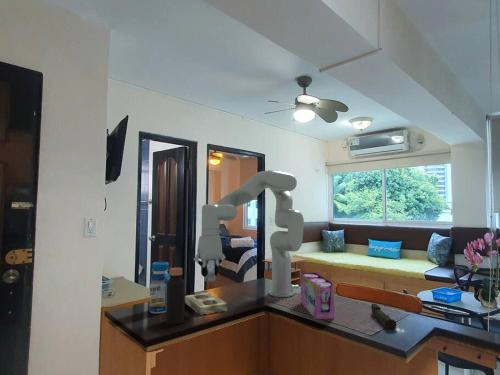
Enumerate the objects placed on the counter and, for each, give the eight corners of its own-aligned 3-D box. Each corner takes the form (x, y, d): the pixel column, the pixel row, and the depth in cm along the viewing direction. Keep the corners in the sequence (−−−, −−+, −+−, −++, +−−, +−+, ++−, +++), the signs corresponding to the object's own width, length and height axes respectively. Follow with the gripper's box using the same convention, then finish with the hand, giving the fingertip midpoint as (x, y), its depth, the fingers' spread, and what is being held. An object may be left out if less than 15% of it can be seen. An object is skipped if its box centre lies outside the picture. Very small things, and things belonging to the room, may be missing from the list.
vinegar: (164, 320, 123) (165, 267, 124) (182, 317, 126) (182, 266, 127) (167, 326, 117) (168, 270, 118) (185, 323, 119) (186, 269, 121)
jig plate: (209, 298, 152) (209, 292, 152) (227, 310, 134) (227, 303, 134) (184, 302, 146) (184, 295, 146) (200, 315, 128) (200, 307, 128)
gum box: (336, 320, 123) (335, 284, 124) (316, 320, 123) (316, 285, 123) (316, 302, 147) (316, 272, 148) (300, 302, 146) (299, 272, 147)
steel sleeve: (212, 279, 139) (212, 258, 140) (216, 281, 135) (216, 259, 136) (202, 280, 137) (203, 259, 138) (206, 282, 133) (207, 260, 134)
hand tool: (397, 331, 112) (396, 317, 113) (385, 330, 113) (385, 317, 113) (379, 313, 131) (379, 302, 132) (369, 313, 132) (369, 302, 132)
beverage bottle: (173, 310, 134) (174, 262, 136) (155, 315, 128) (156, 265, 129) (162, 306, 140) (163, 260, 141) (145, 311, 134) (146, 262, 135)
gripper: (224, 231, 145) (223, 272, 144) (188, 233, 137) (187, 276, 135) (231, 232, 139) (231, 275, 137) (194, 234, 130) (193, 279, 129)
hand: (209, 275), depth 136 cm, fingers closed on steel sleeve, 4 cm apart
